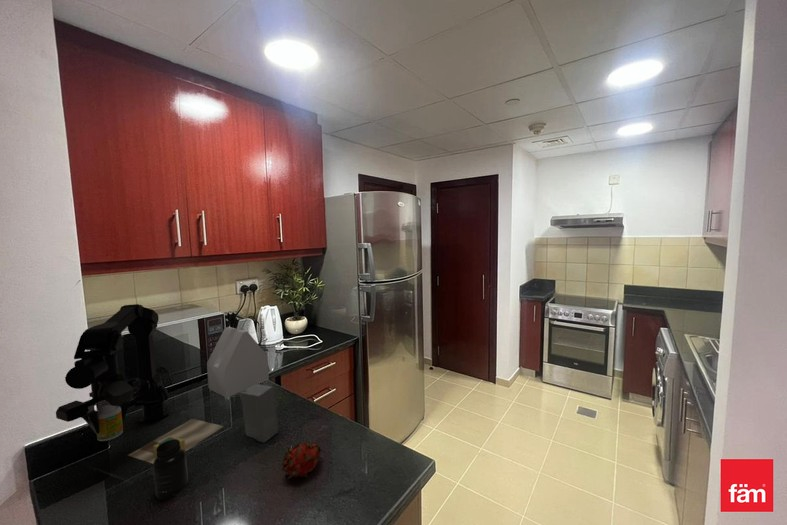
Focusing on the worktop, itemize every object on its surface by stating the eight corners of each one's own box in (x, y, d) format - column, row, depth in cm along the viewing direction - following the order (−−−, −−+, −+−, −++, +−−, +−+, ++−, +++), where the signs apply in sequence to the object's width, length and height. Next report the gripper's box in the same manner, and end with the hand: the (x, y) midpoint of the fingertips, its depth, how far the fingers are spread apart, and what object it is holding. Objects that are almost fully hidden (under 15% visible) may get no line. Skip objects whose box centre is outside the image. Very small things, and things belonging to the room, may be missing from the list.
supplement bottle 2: (166, 481, 82) (163, 437, 82) (193, 478, 83) (190, 435, 82) (148, 502, 76) (144, 455, 75) (178, 499, 76) (174, 452, 75)
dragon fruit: (278, 491, 80) (317, 471, 89) (295, 484, 75) (334, 463, 85) (270, 456, 83) (308, 439, 92) (286, 446, 79) (324, 430, 88)
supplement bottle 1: (107, 442, 84) (104, 408, 83) (91, 440, 85) (88, 406, 84) (128, 430, 89) (125, 398, 88) (113, 429, 90) (110, 396, 89)
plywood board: (121, 456, 93) (121, 453, 93) (186, 420, 112) (186, 417, 111) (169, 472, 85) (169, 469, 85) (230, 430, 104) (230, 427, 104)
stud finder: (154, 455, 91) (153, 443, 91) (171, 445, 96) (170, 433, 96) (168, 460, 89) (167, 447, 89) (185, 449, 94) (184, 437, 93)
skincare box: (279, 432, 102) (276, 385, 101) (261, 445, 96) (258, 395, 95) (260, 426, 106) (257, 381, 105) (242, 439, 99) (239, 390, 98)
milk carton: (250, 373, 152) (247, 322, 150) (268, 380, 143) (265, 326, 141) (208, 388, 136) (204, 332, 135) (226, 398, 127) (222, 338, 126)
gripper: (77, 392, 74) (83, 455, 75) (159, 363, 92) (164, 414, 93) (51, 386, 78) (58, 445, 79) (135, 359, 96) (139, 408, 97)
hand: (109, 427), depth 87 cm, fingers closed on supplement bottle 1, 5 cm apart
